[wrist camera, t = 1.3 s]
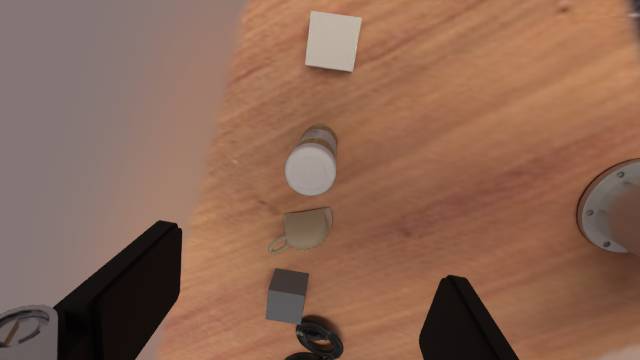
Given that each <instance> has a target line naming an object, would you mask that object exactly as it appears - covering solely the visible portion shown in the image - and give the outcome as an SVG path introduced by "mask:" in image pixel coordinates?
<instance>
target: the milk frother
mask: <svg viewBox="0 0 640 360" xmlns="http://www.w3.org/2000/svg"><path fill="white" fill-rule="evenodd" d="M296 335H297V338H298V340H299V342H300V343H301V344H302V345H303V346H304V347H305V348H307V349H308V350H310V351H311V352H313V353H315V354H316V355H314V354H310V353H309V354H308V353H299V354H295V355H292V356H290V357H288V358H287V359H285V360H335V359H337V358H339V357H340V356H341V354H342V353H343V344H342V342H341V340H340V339H339V338H338V336H337V335H336V334H335V333H334V332H332V331H331V330H330V329H329V328H327V327H326V326H324V325H323V324H321V323H319V322H316V321H313V320H304V321H301V325H299V324H298V326H297V328H296ZM308 340H310V341H316V340H318V341H319V340H325V341H327V340H329V341H330V342H331V343H332V344H333V346H334V348H333V349H332V350H323V349H320V348H318V347H316V346H314V345H313V344H312V343H310V342H309V341H308ZM317 355H319V356H317ZM320 356H322V357H326V358H321V357H320Z"/></svg>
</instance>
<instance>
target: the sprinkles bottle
mask: <svg viewBox="0 0 640 360" xmlns="http://www.w3.org/2000/svg"><path fill="white" fill-rule="evenodd" d="M336 149H337V137H336V135H335V133H334V132H333V130H332V129H330V128H329V127H327V126H324V125H315V126H313V127H310V128H309V129H308V130H307V131H306V132H305V134H304V136H303V137H302V139H301V140H300V142H299V143H298V145H297V146H296V148H295V149H294V150H293V151H292V152H291V154H290V156H289V157H288V159H287V162H286V165H285V176H286V179H287V182H288V183H289V185H290V186H291V187H292V188H293V189H294V190H295V191H296V192H298V193H300V194H303V195H307V196H315V195H319V194H322V193H324V192H325V191H327V190H328V189H329V188H330V187H331V186H332V184H333V183H334V180H335V177H336V169H337V166H336Z"/></svg>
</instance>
